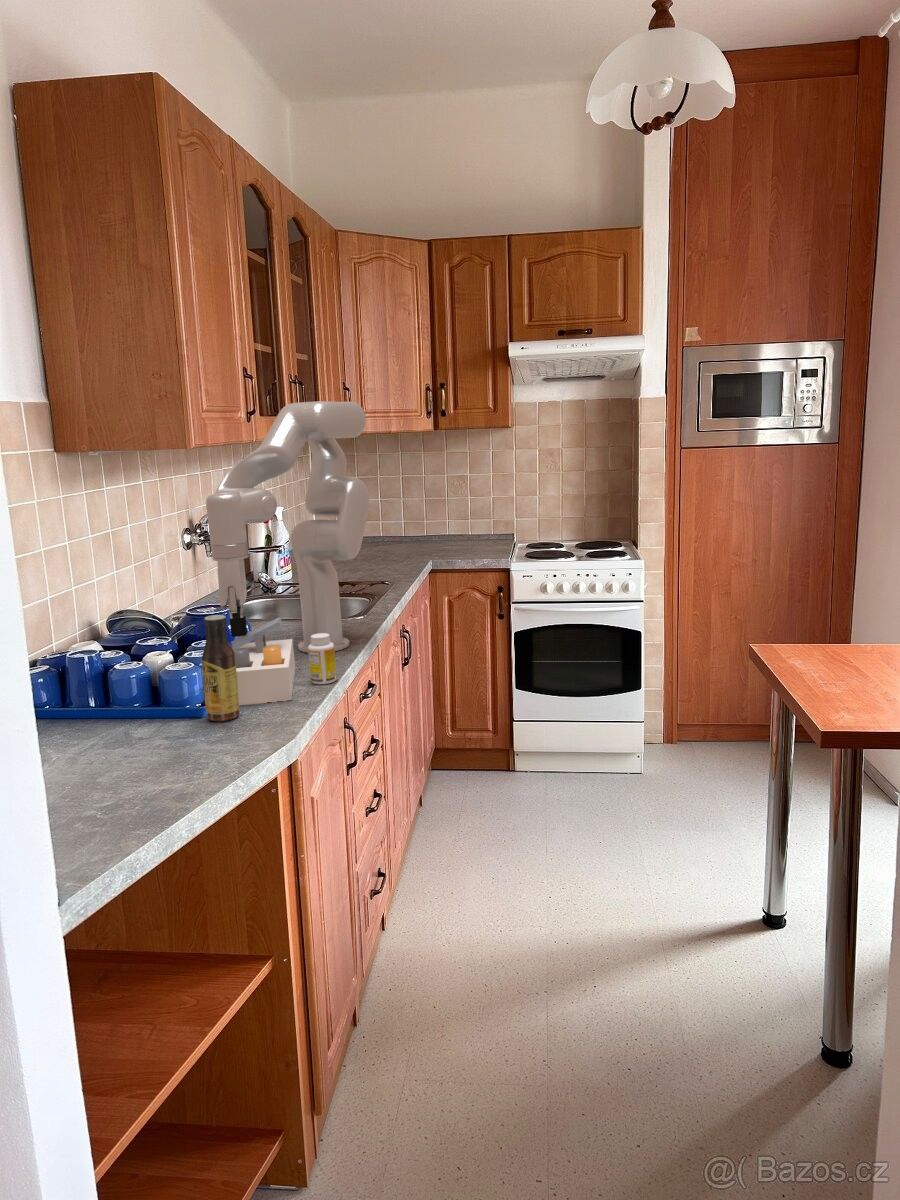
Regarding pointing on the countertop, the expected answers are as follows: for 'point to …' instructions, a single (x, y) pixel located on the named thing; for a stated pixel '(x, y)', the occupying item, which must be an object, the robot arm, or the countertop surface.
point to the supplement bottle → (322, 659)
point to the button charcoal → (242, 657)
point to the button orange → (272, 655)
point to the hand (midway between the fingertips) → (239, 635)
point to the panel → (266, 674)
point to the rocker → (257, 633)
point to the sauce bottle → (219, 672)
